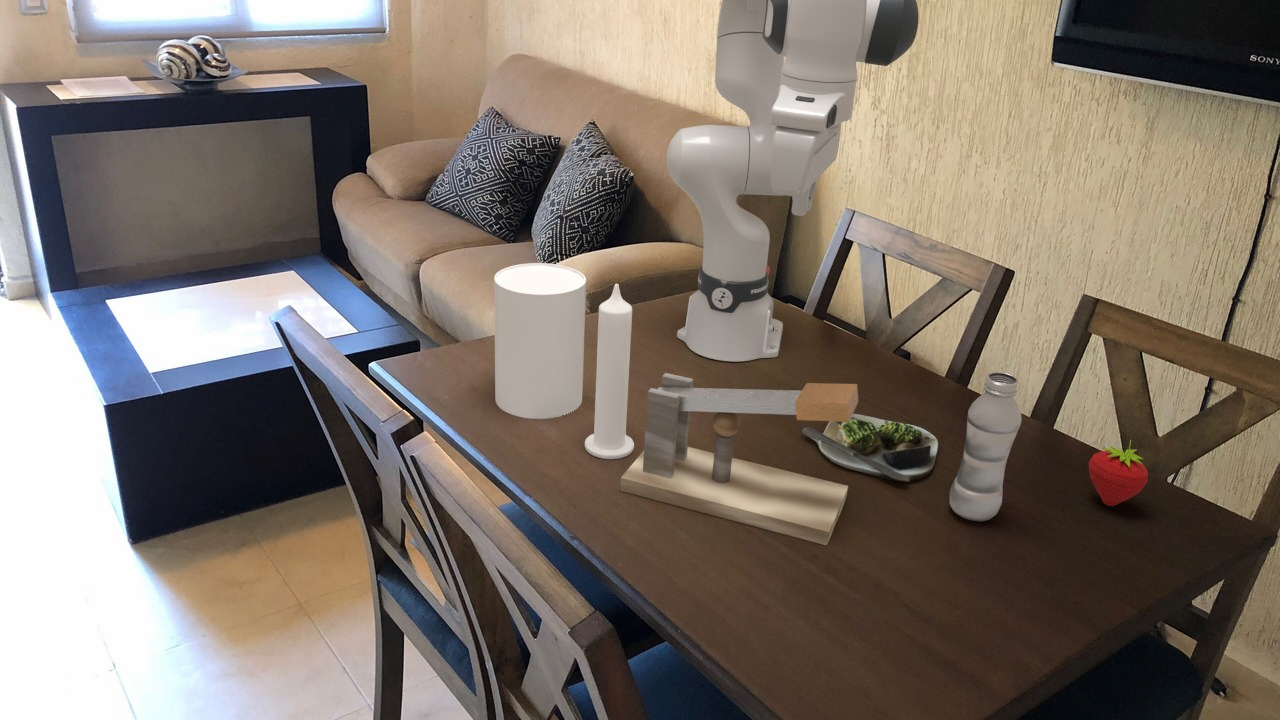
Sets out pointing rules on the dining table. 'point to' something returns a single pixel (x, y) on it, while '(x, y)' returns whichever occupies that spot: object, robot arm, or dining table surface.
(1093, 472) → the strawberry
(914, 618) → the dining table surface
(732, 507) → the press base
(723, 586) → the dining table surface
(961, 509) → the plastic bottle
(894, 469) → the salad plate
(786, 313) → the dining table surface
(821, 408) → the press lever
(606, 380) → the candle
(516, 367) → the canister
